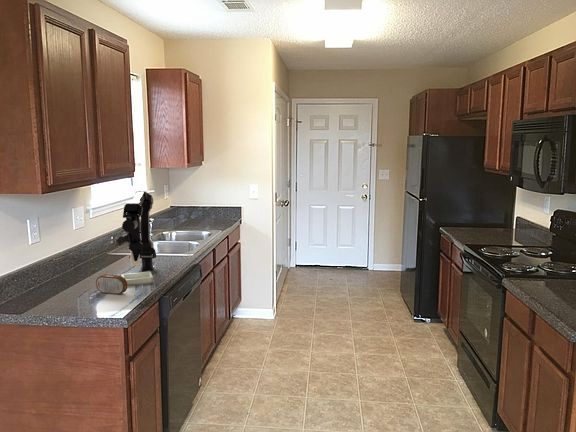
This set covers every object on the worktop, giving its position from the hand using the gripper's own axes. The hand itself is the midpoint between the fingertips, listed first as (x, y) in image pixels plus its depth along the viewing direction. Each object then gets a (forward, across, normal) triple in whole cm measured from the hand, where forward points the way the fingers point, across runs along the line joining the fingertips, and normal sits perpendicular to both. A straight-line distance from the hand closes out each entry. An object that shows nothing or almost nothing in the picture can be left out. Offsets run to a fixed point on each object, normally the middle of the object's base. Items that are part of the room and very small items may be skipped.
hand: (135, 260), depth 229 cm
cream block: (+2, 0, 0) cm, 3 cm away
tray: (+11, 0, 0) cm, 11 cm away
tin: (+11, +15, -12) cm, 22 cm away
